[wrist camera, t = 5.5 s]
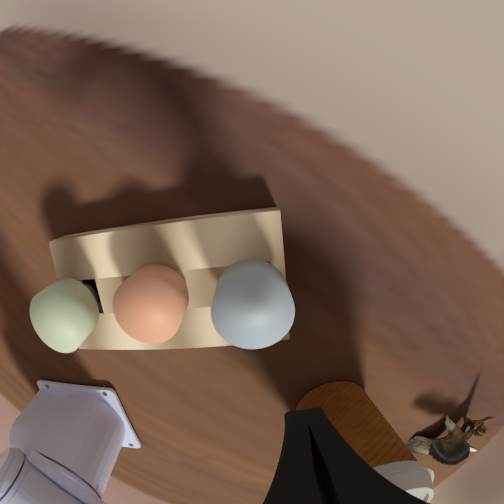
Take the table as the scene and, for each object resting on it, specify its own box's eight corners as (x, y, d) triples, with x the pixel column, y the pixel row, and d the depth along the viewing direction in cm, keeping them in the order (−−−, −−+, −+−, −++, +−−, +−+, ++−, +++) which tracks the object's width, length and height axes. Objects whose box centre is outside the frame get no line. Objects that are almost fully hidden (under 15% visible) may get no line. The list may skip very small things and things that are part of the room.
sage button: (73, 321, 18) (42, 351, 14) (58, 270, 17) (22, 292, 13) (117, 320, 18) (90, 354, 14) (103, 265, 17) (69, 289, 13)
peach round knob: (145, 312, 19) (123, 344, 15) (132, 258, 18) (105, 280, 14) (198, 308, 19) (187, 342, 15) (189, 252, 18) (173, 274, 14)
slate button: (223, 314, 18) (217, 352, 14) (214, 253, 17) (204, 278, 13) (285, 307, 18) (296, 344, 14) (281, 246, 17) (292, 269, 13)
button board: (90, 336, 20) (79, 348, 18) (64, 235, 18) (48, 241, 16) (286, 324, 20) (289, 339, 18) (276, 206, 18) (280, 210, 16)
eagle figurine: (481, 390, 22) (422, 435, 21) (505, 437, 17) (447, 488, 16) (451, 408, 27) (396, 444, 26) (471, 449, 23) (417, 489, 21)
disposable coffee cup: (288, 362, 21) (318, 502, 9) (397, 363, 21) (468, 465, 10) (267, 441, 23) (276, 553, 11) (361, 438, 24) (397, 532, 12)
